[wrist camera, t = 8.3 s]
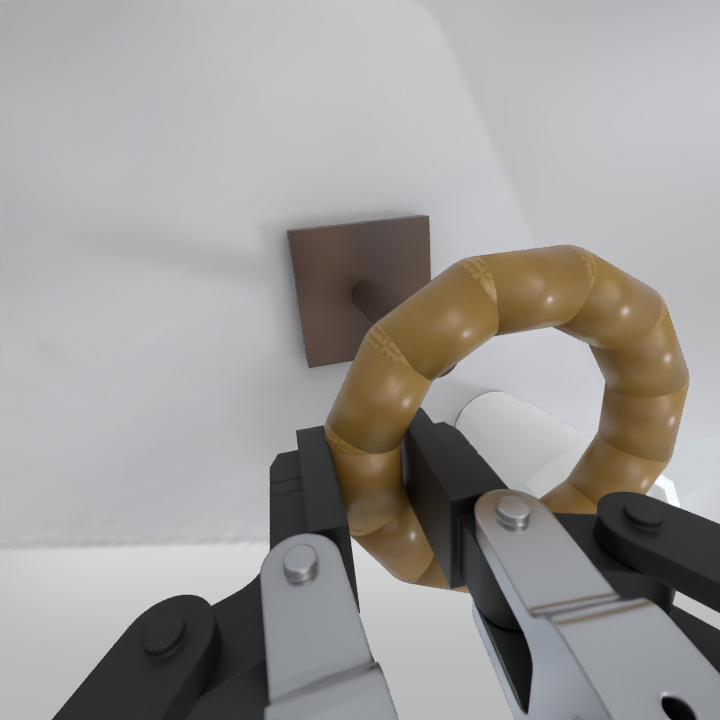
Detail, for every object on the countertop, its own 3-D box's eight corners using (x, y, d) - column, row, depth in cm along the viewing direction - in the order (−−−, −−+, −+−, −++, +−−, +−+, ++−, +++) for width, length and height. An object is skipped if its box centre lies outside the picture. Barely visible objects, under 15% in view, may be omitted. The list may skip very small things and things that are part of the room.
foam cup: (508, 479, 37) (622, 607, 25) (421, 461, 34) (502, 595, 22) (556, 388, 35) (708, 482, 23) (467, 360, 32) (586, 452, 20)
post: (307, 360, 29) (336, 474, 17) (287, 229, 26) (305, 250, 13) (425, 341, 30) (533, 432, 18) (421, 215, 27) (550, 221, 15)
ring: (344, 586, 12) (356, 644, 11) (298, 272, 9) (304, 287, 7) (616, 516, 14) (663, 558, 12) (671, 225, 10) (747, 228, 9)
